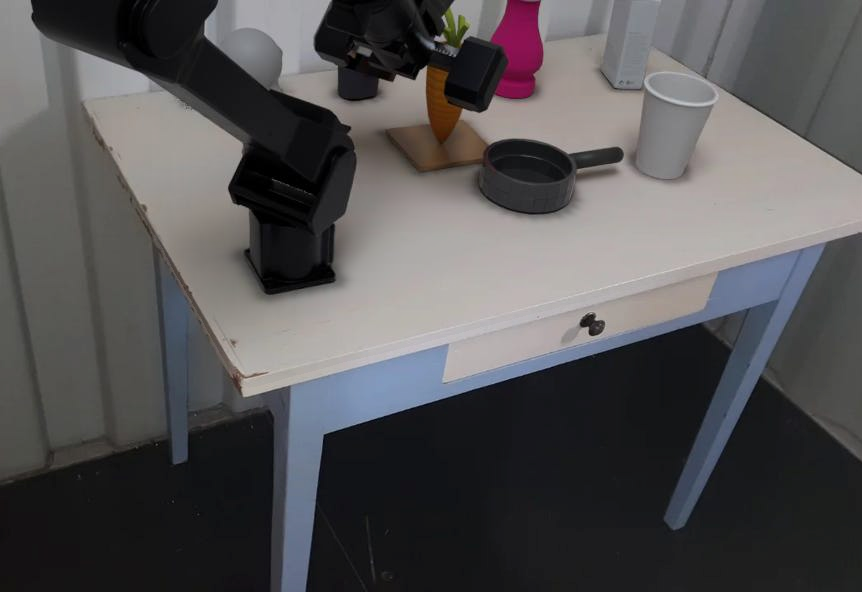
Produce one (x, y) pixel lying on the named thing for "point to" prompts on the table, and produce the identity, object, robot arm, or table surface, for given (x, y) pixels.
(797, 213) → the table surface
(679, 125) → the dixie cup
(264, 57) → the toy rhinoceros
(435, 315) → the table surface
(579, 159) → the pan handle
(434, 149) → the wooden board
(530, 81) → the pepper mill
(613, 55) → the cosmetic box
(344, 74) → the two-way radio
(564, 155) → the pan
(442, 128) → the carrot
